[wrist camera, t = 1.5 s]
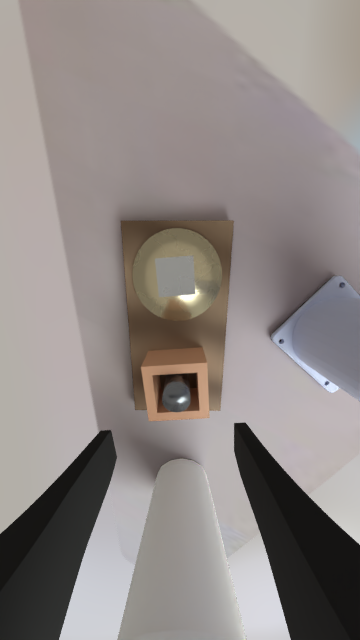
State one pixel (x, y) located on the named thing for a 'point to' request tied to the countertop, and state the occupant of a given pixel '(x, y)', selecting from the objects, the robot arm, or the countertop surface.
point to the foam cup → (181, 565)
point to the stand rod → (176, 392)
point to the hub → (177, 274)
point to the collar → (175, 364)
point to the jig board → (171, 334)
